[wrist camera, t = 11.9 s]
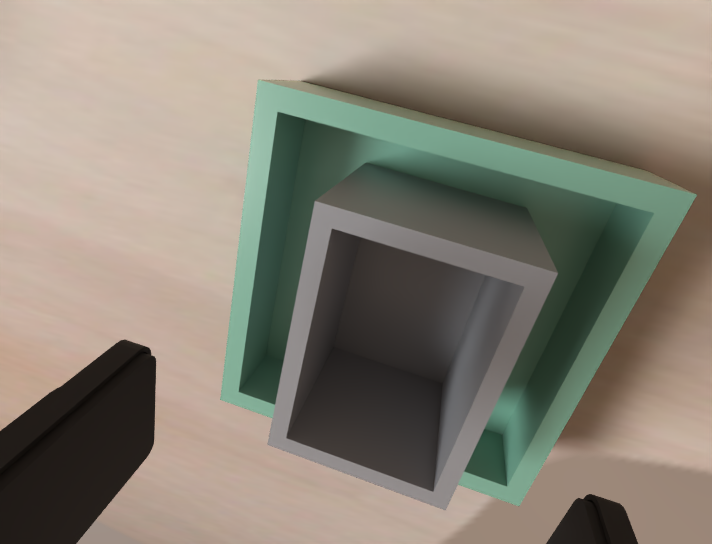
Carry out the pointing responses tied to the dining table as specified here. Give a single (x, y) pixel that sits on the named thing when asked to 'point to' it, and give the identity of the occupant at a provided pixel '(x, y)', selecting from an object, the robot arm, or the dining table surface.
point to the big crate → (470, 173)
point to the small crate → (406, 329)
